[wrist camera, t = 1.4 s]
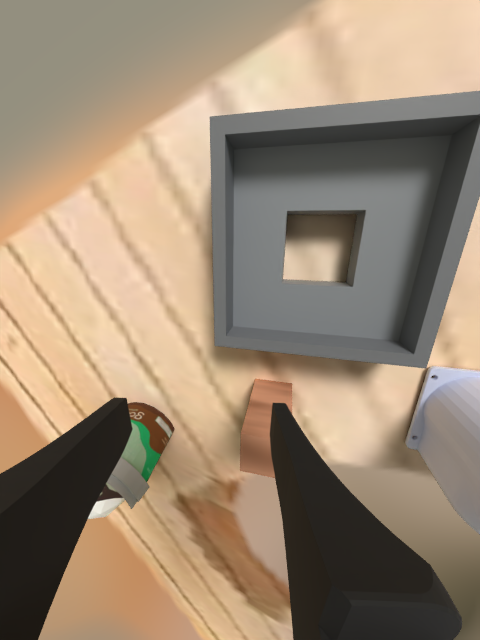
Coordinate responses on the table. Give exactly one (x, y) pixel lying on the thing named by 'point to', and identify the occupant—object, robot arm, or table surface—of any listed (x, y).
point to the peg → (261, 426)
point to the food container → (138, 454)
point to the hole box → (344, 198)
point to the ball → (105, 507)
